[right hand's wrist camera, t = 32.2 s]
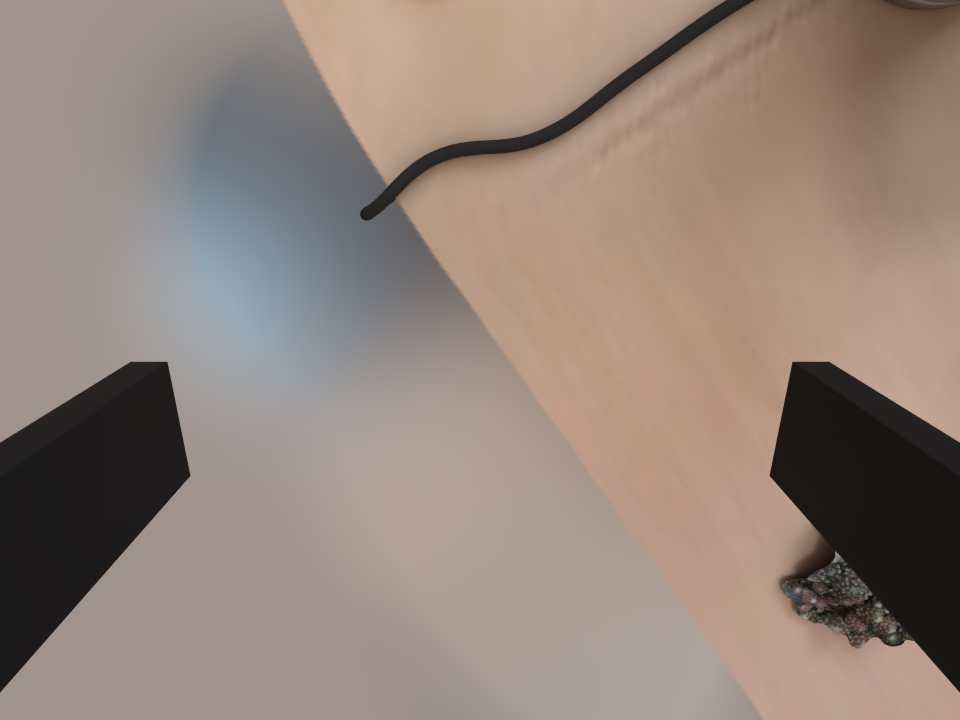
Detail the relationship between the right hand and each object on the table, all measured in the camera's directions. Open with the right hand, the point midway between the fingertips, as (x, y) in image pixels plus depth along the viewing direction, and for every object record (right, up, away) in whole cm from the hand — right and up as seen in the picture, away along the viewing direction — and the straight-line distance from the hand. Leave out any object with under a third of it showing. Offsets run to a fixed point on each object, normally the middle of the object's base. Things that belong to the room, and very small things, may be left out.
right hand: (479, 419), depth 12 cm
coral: (+39, -19, +46) cm, 63 cm away
